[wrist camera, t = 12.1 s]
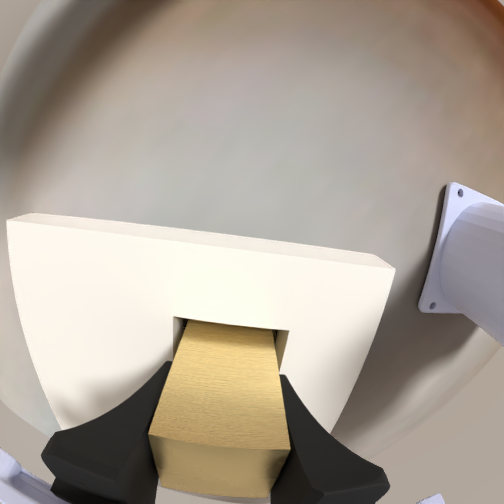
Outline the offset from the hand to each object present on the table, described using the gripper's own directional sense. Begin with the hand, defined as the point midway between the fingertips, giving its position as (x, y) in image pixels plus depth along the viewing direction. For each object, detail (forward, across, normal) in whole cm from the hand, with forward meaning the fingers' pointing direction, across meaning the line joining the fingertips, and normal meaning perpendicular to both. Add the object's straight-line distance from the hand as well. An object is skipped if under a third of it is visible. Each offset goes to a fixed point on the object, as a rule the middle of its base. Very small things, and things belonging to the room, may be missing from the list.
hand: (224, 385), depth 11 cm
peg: (+3, 0, 0) cm, 3 cm away
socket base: (+4, +3, +3) cm, 6 cm away
